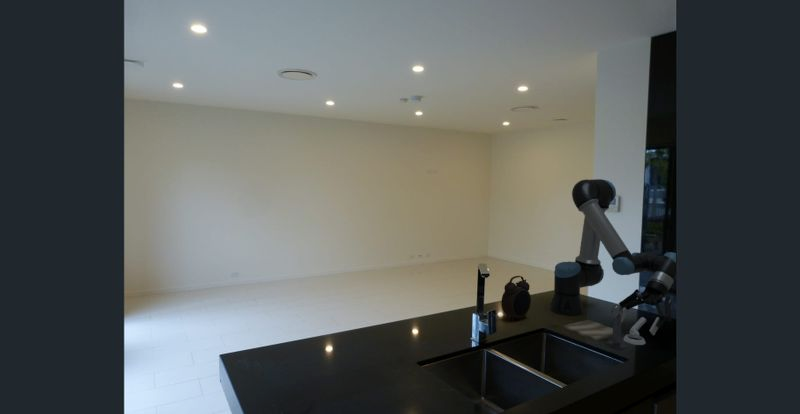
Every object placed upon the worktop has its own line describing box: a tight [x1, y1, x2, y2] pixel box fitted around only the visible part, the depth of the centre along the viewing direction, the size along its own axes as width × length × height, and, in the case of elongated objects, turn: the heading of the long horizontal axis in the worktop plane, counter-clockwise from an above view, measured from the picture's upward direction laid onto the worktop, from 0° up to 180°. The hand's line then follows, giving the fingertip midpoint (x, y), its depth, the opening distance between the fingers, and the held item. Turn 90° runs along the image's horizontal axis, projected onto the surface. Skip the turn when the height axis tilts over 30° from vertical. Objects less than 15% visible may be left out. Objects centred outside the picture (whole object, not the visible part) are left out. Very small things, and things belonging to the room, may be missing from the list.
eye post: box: [605, 304, 628, 350], centre depth 157 cm, size 6×5×16 cm
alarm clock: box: [501, 275, 532, 322], centre depth 188 cm, size 14×7×20 cm, turn 123°
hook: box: [623, 316, 647, 346], centre depth 161 cm, size 8×12×7 cm
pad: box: [562, 319, 623, 342], centre depth 173 cm, size 16×16×1 cm
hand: (634, 327), depth 161 cm, fingers open, 13 cm apart
